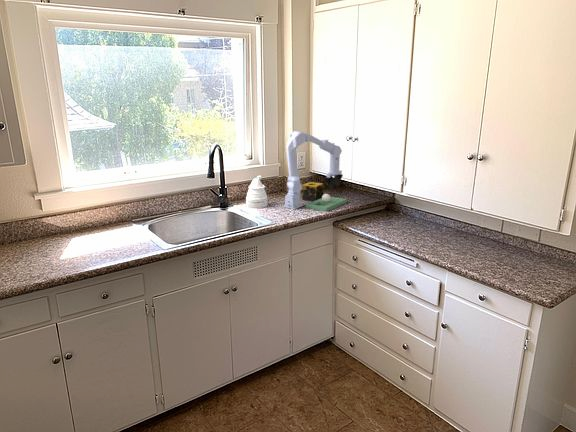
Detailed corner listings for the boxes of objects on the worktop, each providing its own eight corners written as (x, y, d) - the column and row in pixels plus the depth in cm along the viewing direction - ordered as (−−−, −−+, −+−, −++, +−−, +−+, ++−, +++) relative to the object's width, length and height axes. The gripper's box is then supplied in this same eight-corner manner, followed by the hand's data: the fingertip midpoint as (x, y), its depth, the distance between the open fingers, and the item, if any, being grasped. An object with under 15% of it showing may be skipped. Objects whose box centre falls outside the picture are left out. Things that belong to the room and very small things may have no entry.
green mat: (326, 211, 245) (326, 208, 245) (306, 207, 253) (306, 204, 253) (346, 202, 264) (346, 199, 263) (327, 198, 272) (327, 195, 271)
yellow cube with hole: (323, 198, 273) (324, 183, 270) (316, 202, 265) (316, 186, 262) (309, 196, 278) (309, 181, 275) (301, 200, 270) (301, 184, 267)
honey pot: (269, 202, 264) (268, 174, 259) (265, 208, 252) (265, 178, 247) (248, 202, 266) (247, 173, 260) (244, 208, 253) (243, 178, 248)
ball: (329, 204, 256) (326, 198, 253) (322, 203, 259) (319, 198, 256) (332, 197, 258) (329, 192, 255) (325, 196, 261) (322, 191, 258)
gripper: (334, 167, 250) (333, 190, 254) (346, 164, 261) (345, 185, 265) (323, 166, 254) (323, 188, 258) (336, 162, 265) (335, 184, 269)
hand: (334, 187), depth 262 cm, fingers open, 7 cm apart
